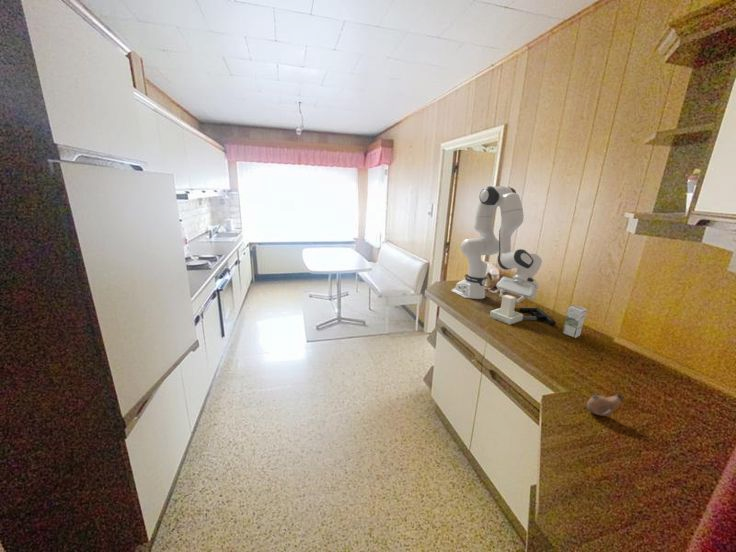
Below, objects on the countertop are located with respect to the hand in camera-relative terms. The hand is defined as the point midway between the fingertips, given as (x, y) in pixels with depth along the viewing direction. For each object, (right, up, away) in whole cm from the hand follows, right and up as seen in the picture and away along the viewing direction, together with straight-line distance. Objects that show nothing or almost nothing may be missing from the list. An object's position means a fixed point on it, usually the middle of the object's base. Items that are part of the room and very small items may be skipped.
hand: (508, 299), depth 154 cm
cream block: (0, -10, +3) cm, 10 cm away
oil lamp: (-3, -31, -65) cm, 72 cm away
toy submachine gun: (+17, -11, +6) cm, 21 cm away
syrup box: (+25, -17, -13) cm, 32 cm away
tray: (0, -11, +3) cm, 11 cm away
